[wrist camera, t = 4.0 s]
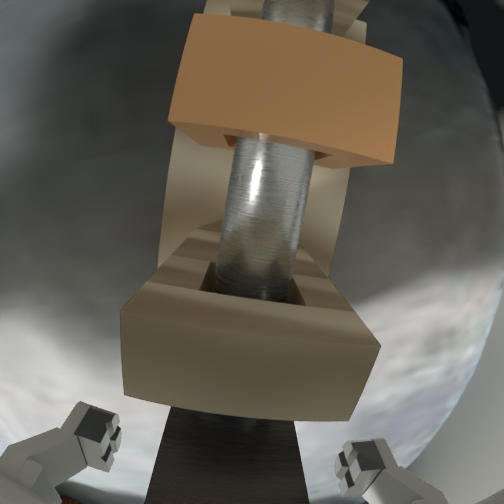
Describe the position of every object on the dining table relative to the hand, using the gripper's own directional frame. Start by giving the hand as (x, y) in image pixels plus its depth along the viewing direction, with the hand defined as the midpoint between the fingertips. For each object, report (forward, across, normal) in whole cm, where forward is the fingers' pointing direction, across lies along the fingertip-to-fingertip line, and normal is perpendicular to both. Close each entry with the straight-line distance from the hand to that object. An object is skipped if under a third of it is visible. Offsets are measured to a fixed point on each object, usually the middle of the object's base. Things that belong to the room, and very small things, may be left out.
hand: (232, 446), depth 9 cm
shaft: (+5, 0, -9) cm, 11 cm away
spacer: (+5, 0, -11) cm, 12 cm away
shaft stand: (+11, 0, -11) cm, 16 cm away
